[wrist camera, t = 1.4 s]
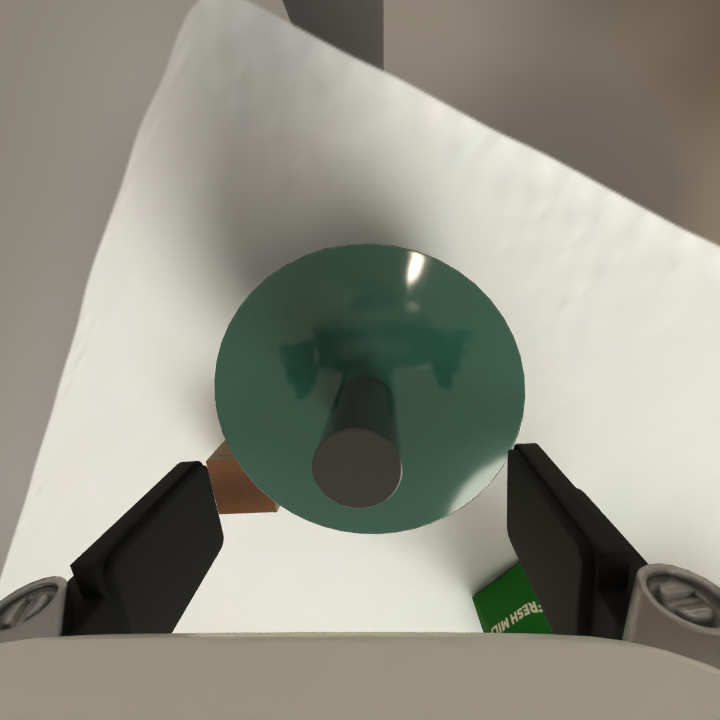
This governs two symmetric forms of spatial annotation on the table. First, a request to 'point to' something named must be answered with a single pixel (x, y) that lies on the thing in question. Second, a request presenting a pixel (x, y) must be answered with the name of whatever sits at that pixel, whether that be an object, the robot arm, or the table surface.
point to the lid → (369, 388)
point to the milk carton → (511, 605)
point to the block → (235, 486)
